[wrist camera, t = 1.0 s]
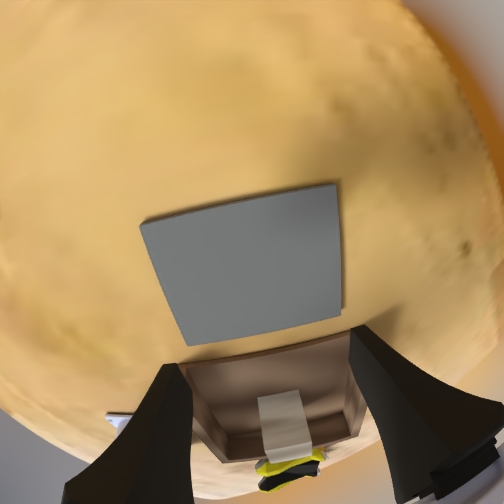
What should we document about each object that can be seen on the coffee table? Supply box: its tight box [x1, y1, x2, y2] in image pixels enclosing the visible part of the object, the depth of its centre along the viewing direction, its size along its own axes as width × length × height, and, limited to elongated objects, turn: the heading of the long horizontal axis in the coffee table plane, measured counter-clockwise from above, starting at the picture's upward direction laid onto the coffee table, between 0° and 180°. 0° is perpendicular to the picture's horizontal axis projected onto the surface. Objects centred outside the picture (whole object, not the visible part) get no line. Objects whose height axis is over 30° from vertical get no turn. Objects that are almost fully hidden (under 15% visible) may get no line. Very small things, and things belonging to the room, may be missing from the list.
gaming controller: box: [255, 447, 329, 493], centre depth 30 cm, size 15×6×10 cm
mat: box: [139, 183, 341, 346], centre depth 18 cm, size 10×12×1 cm
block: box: [257, 390, 312, 463], centre depth 22 cm, size 4×4×6 cm
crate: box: [178, 330, 367, 463], centre depth 23 cm, size 15×16×4 cm
